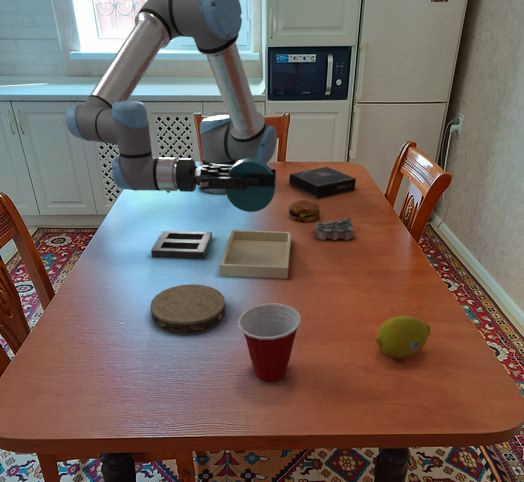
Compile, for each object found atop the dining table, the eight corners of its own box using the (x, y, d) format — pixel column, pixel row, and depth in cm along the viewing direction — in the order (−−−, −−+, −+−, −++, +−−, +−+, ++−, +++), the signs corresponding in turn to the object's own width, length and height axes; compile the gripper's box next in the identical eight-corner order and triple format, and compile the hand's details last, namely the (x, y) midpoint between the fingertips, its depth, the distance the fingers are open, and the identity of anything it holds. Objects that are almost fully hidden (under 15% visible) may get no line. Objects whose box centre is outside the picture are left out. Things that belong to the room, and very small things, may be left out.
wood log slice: (138, 326, 102) (135, 314, 101) (174, 290, 114) (172, 279, 113) (206, 341, 98) (205, 328, 96) (236, 302, 110) (236, 291, 108)
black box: (324, 177, 183) (325, 166, 181) (354, 190, 172) (355, 178, 169) (288, 184, 176) (289, 173, 174) (317, 198, 165) (317, 186, 162)
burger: (310, 209, 157) (311, 194, 154) (325, 219, 150) (326, 204, 147) (282, 214, 153) (283, 199, 151) (296, 224, 147) (297, 209, 144)
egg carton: (351, 231, 143) (353, 217, 140) (353, 241, 137) (355, 227, 134) (314, 229, 143) (315, 216, 141) (315, 240, 137) (316, 226, 135)
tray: (232, 240, 138) (231, 229, 136) (291, 242, 137) (291, 231, 135) (220, 276, 120) (219, 265, 119) (287, 278, 119) (287, 267, 117)
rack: (151, 257, 129) (150, 250, 128) (164, 237, 139) (163, 230, 138) (204, 259, 128) (203, 252, 127) (212, 238, 138) (212, 232, 137)
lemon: (378, 368, 91) (385, 333, 86) (366, 344, 97) (371, 310, 93) (434, 363, 92) (443, 328, 87) (418, 340, 98) (426, 306, 94)
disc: (227, 212, 120) (222, 162, 113) (229, 208, 123) (224, 159, 116) (276, 211, 119) (273, 160, 112) (276, 206, 122) (274, 156, 115)
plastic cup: (238, 356, 94) (236, 302, 87) (293, 353, 95) (296, 300, 88) (241, 393, 85) (239, 337, 78) (302, 389, 86) (305, 334, 79)
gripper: (186, 180, 126) (277, 182, 125) (171, 202, 113) (272, 205, 112) (184, 150, 122) (277, 152, 120) (168, 169, 109) (272, 171, 107)
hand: (274, 177), depth 116 cm, fingers closed on disc, 3 cm apart
